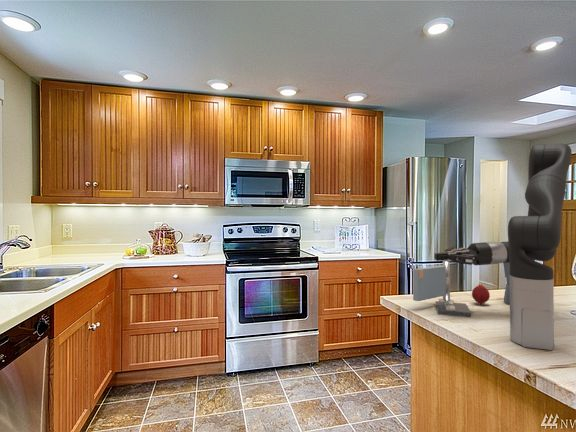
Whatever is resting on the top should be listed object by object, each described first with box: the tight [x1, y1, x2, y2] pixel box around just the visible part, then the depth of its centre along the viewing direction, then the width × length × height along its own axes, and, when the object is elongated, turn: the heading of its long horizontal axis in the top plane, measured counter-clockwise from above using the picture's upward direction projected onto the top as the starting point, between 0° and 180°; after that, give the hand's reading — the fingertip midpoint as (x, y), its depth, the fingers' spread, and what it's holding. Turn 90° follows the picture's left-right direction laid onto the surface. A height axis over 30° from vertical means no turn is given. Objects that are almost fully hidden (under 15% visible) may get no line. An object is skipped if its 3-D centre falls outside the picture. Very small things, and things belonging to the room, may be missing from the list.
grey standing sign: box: [412, 265, 446, 302], centre depth 118 cm, size 16×3×11 cm, turn 121°
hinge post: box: [438, 260, 455, 303], centre depth 124 cm, size 5×5×16 cm
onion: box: [471, 282, 491, 305], centre depth 122 cm, size 6×6×8 cm
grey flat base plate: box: [435, 300, 472, 318], centre depth 114 cm, size 12×10×2 cm
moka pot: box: [502, 262, 510, 306], centre depth 123 cm, size 10×15×20 cm, turn 161°
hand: (435, 256), depth 110 cm, fingers closed
